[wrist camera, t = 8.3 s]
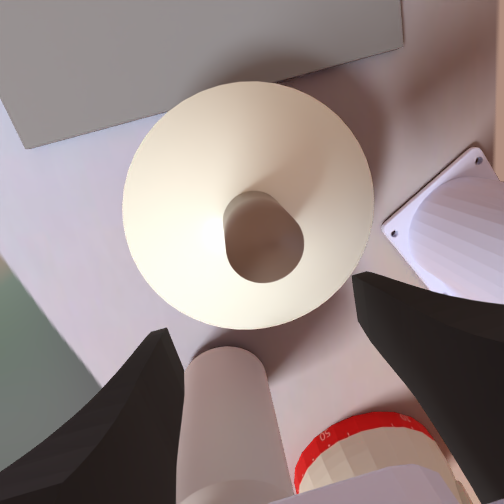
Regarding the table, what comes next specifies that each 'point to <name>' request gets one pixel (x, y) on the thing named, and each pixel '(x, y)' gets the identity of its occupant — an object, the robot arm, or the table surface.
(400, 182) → the table surface
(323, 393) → the table surface
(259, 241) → the lid
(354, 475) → the kitchen timer
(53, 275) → the table surface
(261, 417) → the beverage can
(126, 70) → the mat
